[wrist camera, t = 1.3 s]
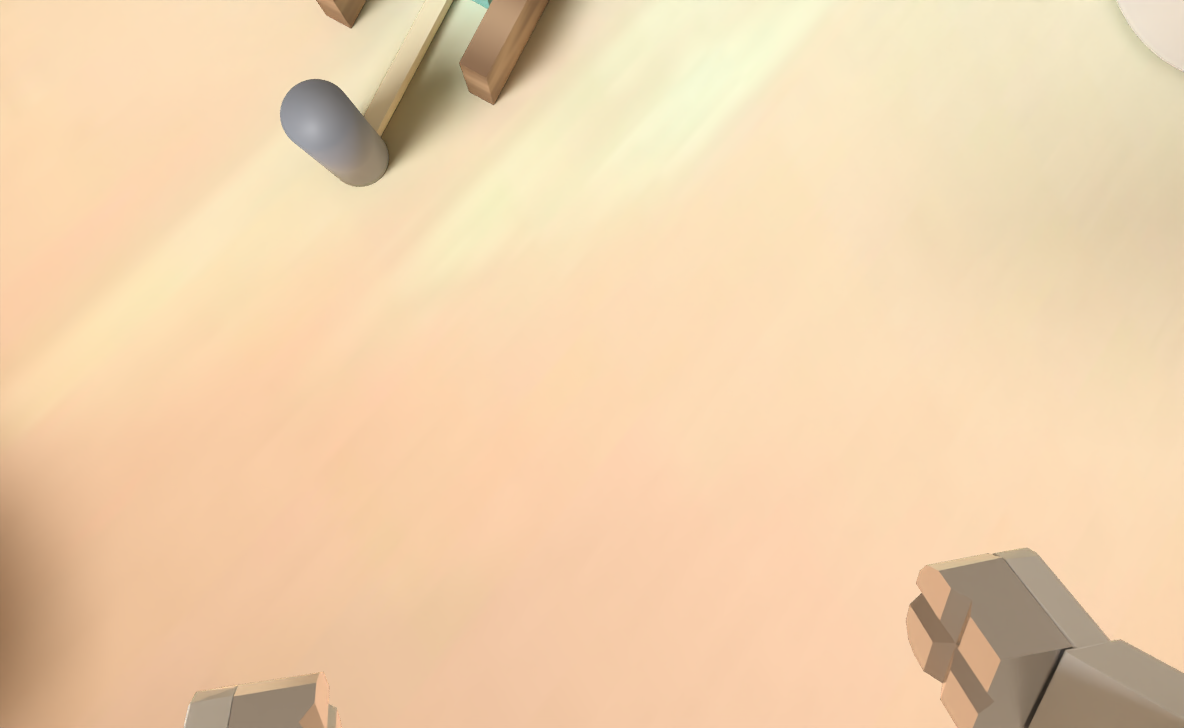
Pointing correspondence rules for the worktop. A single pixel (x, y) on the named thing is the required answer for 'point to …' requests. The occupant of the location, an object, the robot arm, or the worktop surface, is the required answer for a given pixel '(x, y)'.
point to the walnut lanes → (476, 40)
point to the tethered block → (338, 127)
